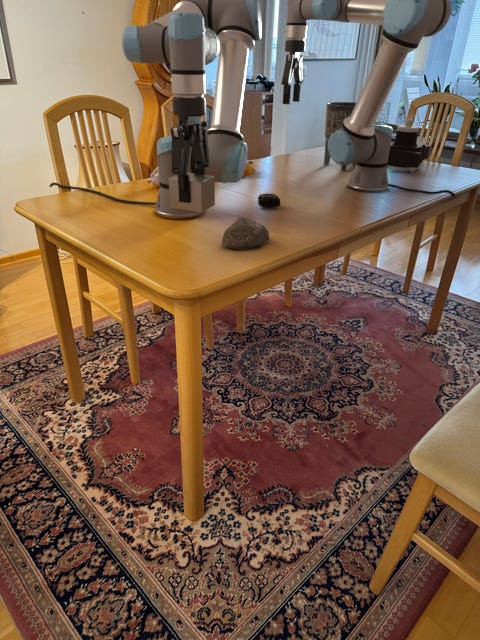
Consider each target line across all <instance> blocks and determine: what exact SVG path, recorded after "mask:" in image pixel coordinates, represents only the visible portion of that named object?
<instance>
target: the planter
mask: <svg viewBox="0 0 480 640" xmlns="http://www.w3.org/2000/svg"><path fill="white" fill-rule="evenodd" d="M356 103H357V102H353V101H333V102H327V103H326V109H325V124H324V125H325V126H324V139H325V144H324V156H323V157H324V158H323V165H325V166H328V165H330V163H331V159H332V158H331V157H330V154H329V150H328V141H329V138H330V136H331V134H332V133H333V132H335V131H336V130H340V128H341V126H342V123H343V121H344V119H346V118H348V117H350V116H351V114H352V112H353V109H354V107H355V105H356ZM355 165H356V163H352V166H353V167H355ZM347 167H348V165H345V164H344V165H341V166H340V170H341V172H345V171H347Z"/></svg>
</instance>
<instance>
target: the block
mask: <svg viewBox="0 0 480 640" xmlns="http://www.w3.org/2000/svg"><path fill="white" fill-rule="evenodd" d="M187 175H189V179H190V203H184V202H179V190H178V176H177V175H175V176H173V177H171V178H169V194H170V208H176V209H182V210H189V211H195V212H203V213H204V212H205V211H207V210H208V209H210V208H212V207H213V206H215V205H216V197H215V196H216V185H215V183H216V182H215V176H211V175H203V174H194V173H187Z"/></svg>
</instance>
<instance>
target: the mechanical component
mask: <svg viewBox="0 0 480 640" xmlns="http://www.w3.org/2000/svg"><path fill="white" fill-rule="evenodd" d="M413 123H414V119H411V118H409V119H405V124H400V125H398V126H397V128H396V133H395V137H394V142H393V141H392V142H391V145H390V151H389V156H388V162H387V168H386V169H388V170H389V169H390V170H392V172H395V173H397V172H398V171H405V172H407V171H408V172H409V173H414V172H415V171H416V170H418V169H419V168H420V167H422V165H423V161H425V160H427V159H429V155H430V153H431V146H432V145H430V144H426V143H425V142H423V141H418V137H419V132H420V126H418V125H413Z"/></svg>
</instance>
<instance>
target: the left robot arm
mask: <svg viewBox="0 0 480 640" xmlns="http://www.w3.org/2000/svg"><path fill="white" fill-rule="evenodd" d="M261 9H262V8H261V2H260V0H181V1H179V2H178V3H177V4H176V5H175V6H174V7H173V9H172V11H170V12H168V13H166V14H164V15H162V16H161V17H158V18H157V19H155V20H152V21H151V22H149V23H147V24H145V25H137V24H134V25H129V26H125V27H124V29H123V31H122V34H121V46H122V51H123V54H124V57H125V58H126V60H127V61H128V62H130V63H137V64H140V65H141V64H142V65H143V64H169V65H170V74H171V75H170V76H171V79H170V83H171V93H172V94H173V95H174V96H173V97H172V99H171V101H172V113H173V115H174V116H177V125H176V127H175V126H172V127H170V135H166V136H163V137H160V138H159V139H158V140H157V143H156V157H157V159H156V160H157V167H158V173H159V185H158V187H159V190H158V194H157V198H156V202H155V201H154V202H152V201H137V200H127V199H121V198H117V197H116V196H115V197H114V196H113V195H109V194H106V193H104V192H101V191H97V190H94V189H90V188H85V187H79V186H73V185H64V184H62V183H61V184H60V183H58V182H51V183H50V184H49V186H48V187H49V188H52V187H53V186H57V187H59V188H62V189H68V190H78V191H84V192H88V193H93V194H96V195H99V196H102V197H105V198H107V199H110V200H113V201H115V202H119V203H123V204H131V205H143V206H155V207H154V210H155V211H154V212H155V215H156V216H158V217H160V218H164V219H168V220H189V219H194V218H197V217H200V216H201V215H204V211H203V212H195V211H189V210H182V209H176V208H170V194H169V178H171V177H173V176H175V175H177V176H178V190H179V202H184V203H190V179H189V175H187V173H194V174H203V175H211V176H215V183H222V184H236V183H238V182H240V181H241V180H242V178H243V177H242V176H243V174H244V171H245V167H246V163H247V162H248V153H249V146H248V143H246V142H245V141H244V139H245V138H244V136H243V134H242V133H241V132H240V130H241V129H240V128H241V121H242V120H241V119H242V111H243V103H244V95H245V93H244V92H245V85H246V77H247V70H248V69H247V68H248V61H249V53H251V52H252V51H253V50H254V49H255V44H256V42H259V41H261V40H262V35H263V22H262V10H261ZM217 58H218V59H217ZM216 59H217V69H216V77H215V85H214V96H213V104H212V114H211V120H210V121H211V122H210V127H209V123H208V121H207V120H206V121H205V120H202V117H203V116H205V115H206V114H207V99H206V97H204V95H206V94H207V88H206V87H207V85H206V84H207V83H206V66H207V65H209V64H211V63H213V62H215V60H216Z"/></svg>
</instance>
